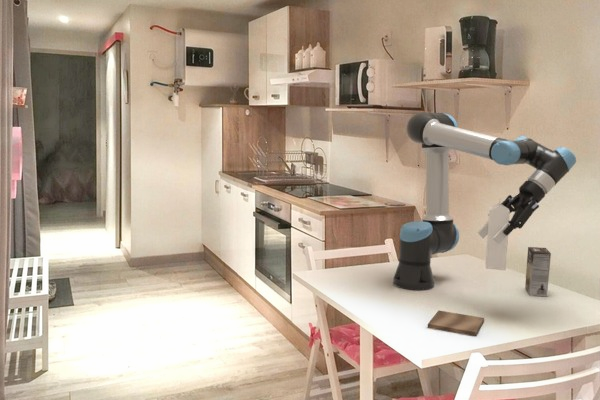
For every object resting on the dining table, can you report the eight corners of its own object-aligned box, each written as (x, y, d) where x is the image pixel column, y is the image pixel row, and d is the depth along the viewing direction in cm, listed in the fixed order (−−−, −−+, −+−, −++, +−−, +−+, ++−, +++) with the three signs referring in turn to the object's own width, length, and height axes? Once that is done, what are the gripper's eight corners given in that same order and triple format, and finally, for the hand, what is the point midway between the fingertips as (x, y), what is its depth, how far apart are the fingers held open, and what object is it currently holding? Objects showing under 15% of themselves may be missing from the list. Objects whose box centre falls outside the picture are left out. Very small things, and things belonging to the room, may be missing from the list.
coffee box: (524, 288, 209) (527, 246, 206) (542, 289, 207) (545, 247, 205) (529, 295, 200) (532, 251, 198) (548, 297, 198) (551, 252, 196)
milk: (485, 268, 177) (489, 200, 174) (485, 264, 183) (489, 197, 180) (506, 270, 175) (510, 201, 172) (505, 265, 181) (509, 198, 178)
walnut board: (427, 327, 165) (427, 323, 165) (438, 313, 178) (438, 310, 178) (476, 336, 159) (476, 332, 159) (483, 321, 172) (484, 317, 171)
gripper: (565, 200, 169) (514, 253, 168) (522, 191, 189) (477, 239, 188) (551, 182, 167) (500, 236, 166) (510, 176, 188) (464, 224, 186)
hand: (488, 238), depth 177 cm, fingers closed on milk, 8 cm apart
